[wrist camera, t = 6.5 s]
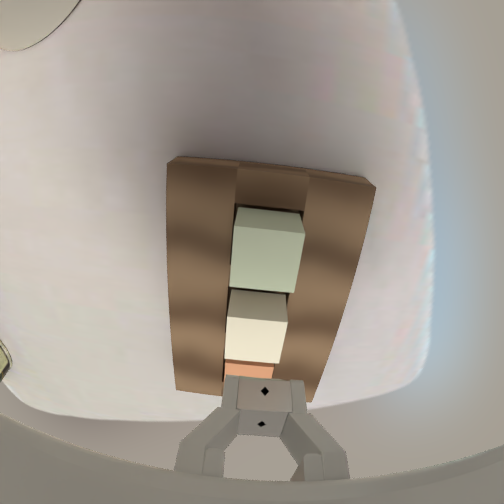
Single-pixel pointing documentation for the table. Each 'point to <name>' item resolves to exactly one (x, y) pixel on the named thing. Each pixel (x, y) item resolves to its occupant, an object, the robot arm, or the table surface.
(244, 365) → the key terracotta
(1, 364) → the coffee can
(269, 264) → the key sage
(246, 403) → the robot arm
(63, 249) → the table surface
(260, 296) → the cream cube
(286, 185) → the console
